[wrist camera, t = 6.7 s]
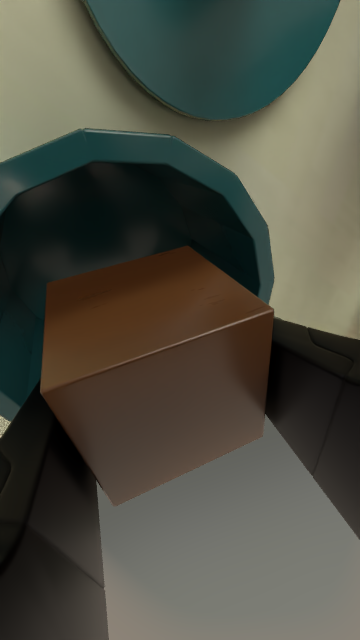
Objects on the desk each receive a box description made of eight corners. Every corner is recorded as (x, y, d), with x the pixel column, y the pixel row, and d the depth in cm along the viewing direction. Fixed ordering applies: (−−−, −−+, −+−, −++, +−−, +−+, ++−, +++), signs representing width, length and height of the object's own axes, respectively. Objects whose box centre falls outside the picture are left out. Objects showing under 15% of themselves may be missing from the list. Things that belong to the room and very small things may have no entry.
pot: (-85, 29, 9) (-325, -174, 3) (258, 216, 18) (359, 249, 12) (-97, 315, 13) (-216, 447, 7) (187, 355, 22) (236, 431, 16)
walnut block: (45, 282, 8) (38, 392, 4) (188, 244, 9) (276, 308, 5) (93, 386, 11) (113, 508, 7) (199, 347, 12) (263, 436, 8)
